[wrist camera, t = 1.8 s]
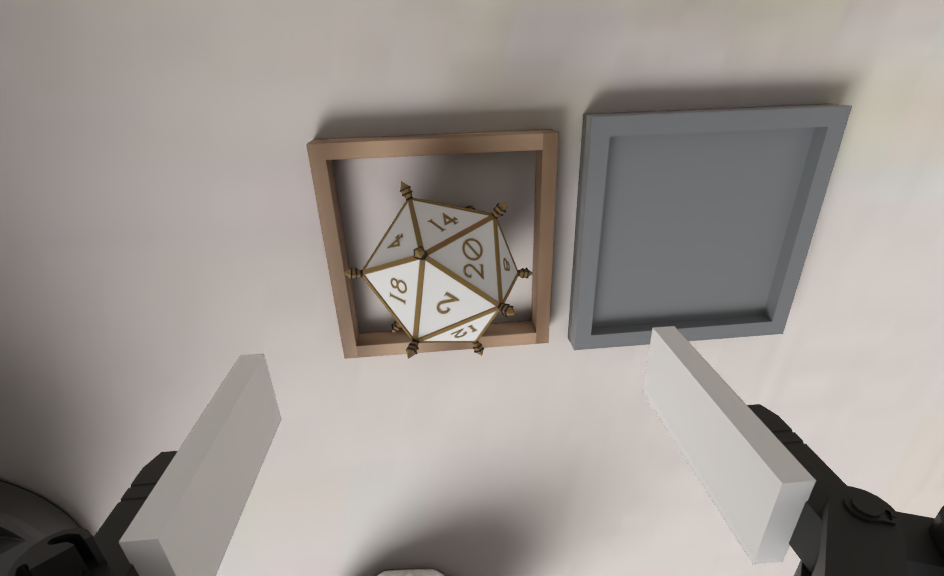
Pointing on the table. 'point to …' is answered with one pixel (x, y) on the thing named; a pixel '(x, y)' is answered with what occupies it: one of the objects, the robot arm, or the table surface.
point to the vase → (411, 572)
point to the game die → (442, 272)
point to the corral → (436, 144)
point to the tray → (696, 219)
